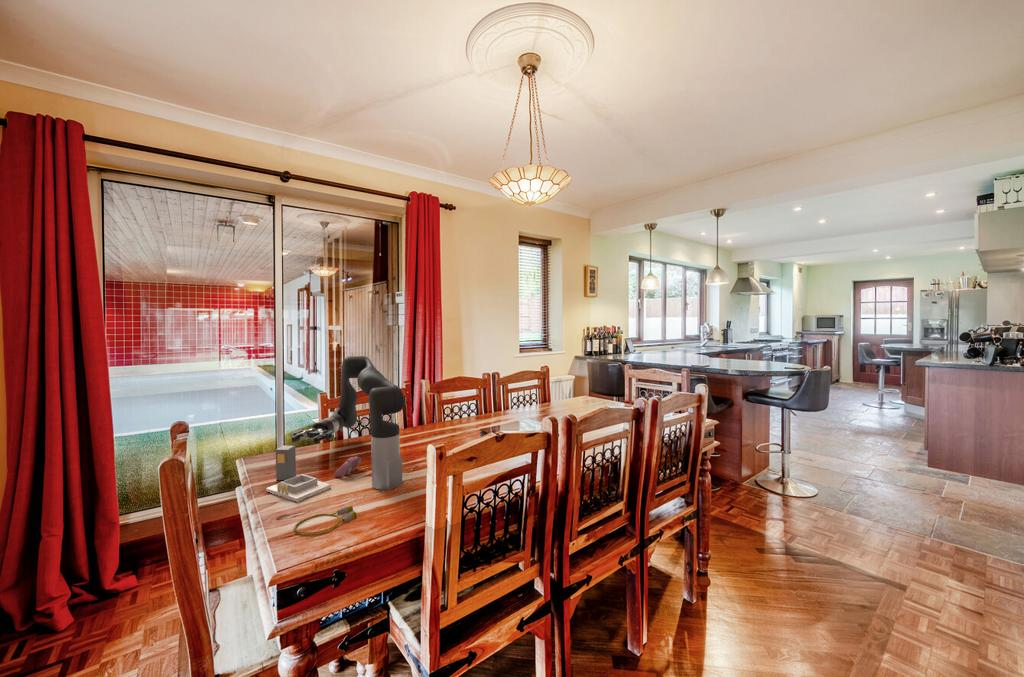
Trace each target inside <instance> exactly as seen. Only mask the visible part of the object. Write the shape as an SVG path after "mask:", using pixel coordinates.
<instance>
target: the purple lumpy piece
mask: <svg viewBox="0 0 1024 677" xmlns="http://www.w3.org/2000/svg"><path fill="white" fill-rule="evenodd" d="M361 462H362V458H361V457H359V456H356V455H355V456H353V457H349V458H348V459H347V460H346V461H345V462H344V463H343V464H341V466H340V467H338V469H336V471H334V474H333V476H334V477H335V478H340V477H343V476H344V475H346V476H348V475H350V473H353V472H354V471H355V470H356V468H357V467H358V466H360V464H361Z"/></svg>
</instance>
